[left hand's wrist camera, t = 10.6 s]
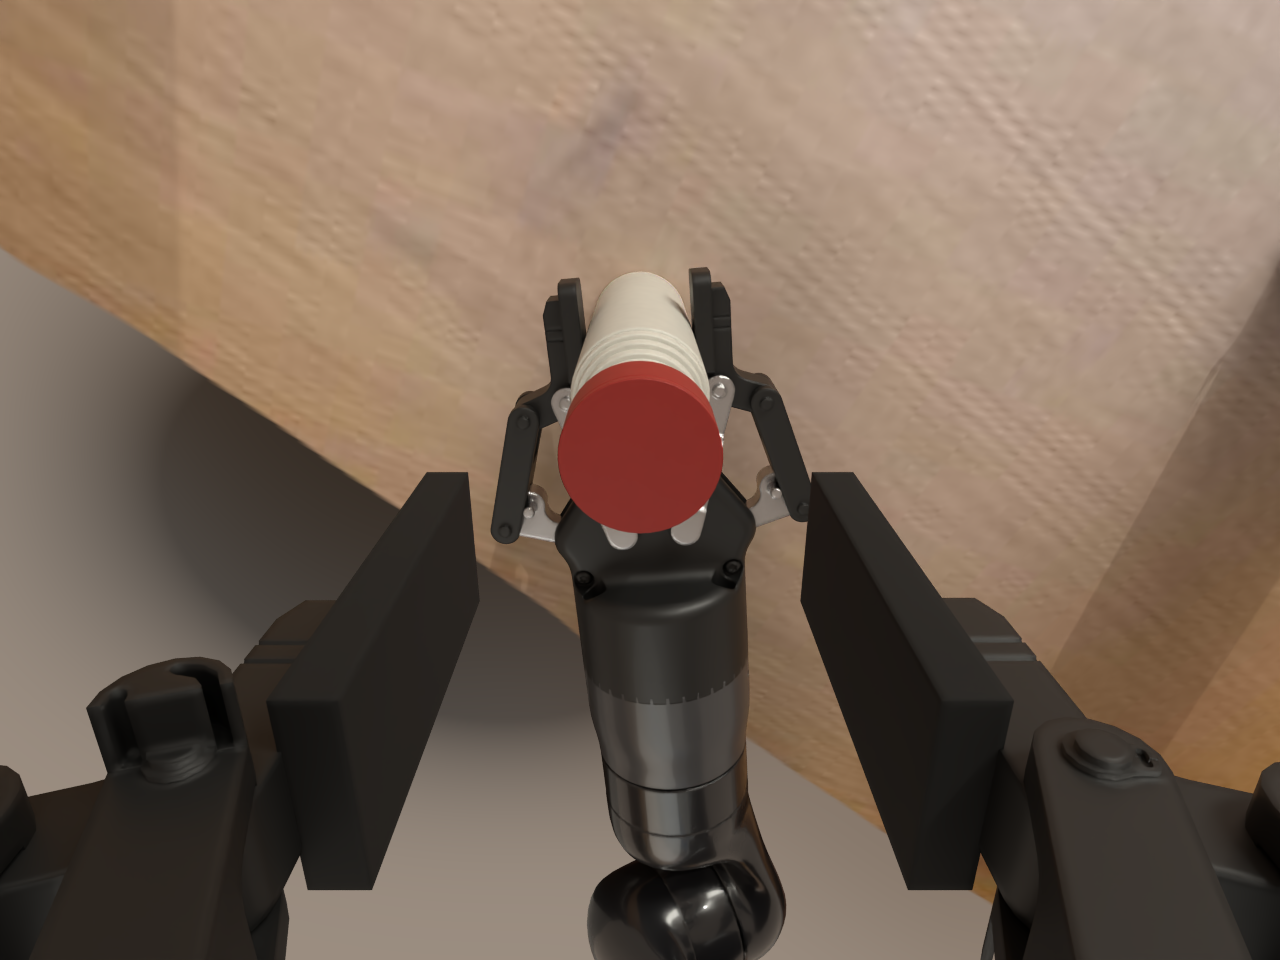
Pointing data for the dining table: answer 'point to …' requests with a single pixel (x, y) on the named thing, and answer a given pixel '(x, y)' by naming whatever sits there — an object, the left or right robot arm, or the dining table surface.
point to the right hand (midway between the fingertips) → (633, 277)
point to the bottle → (640, 330)
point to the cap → (640, 448)
